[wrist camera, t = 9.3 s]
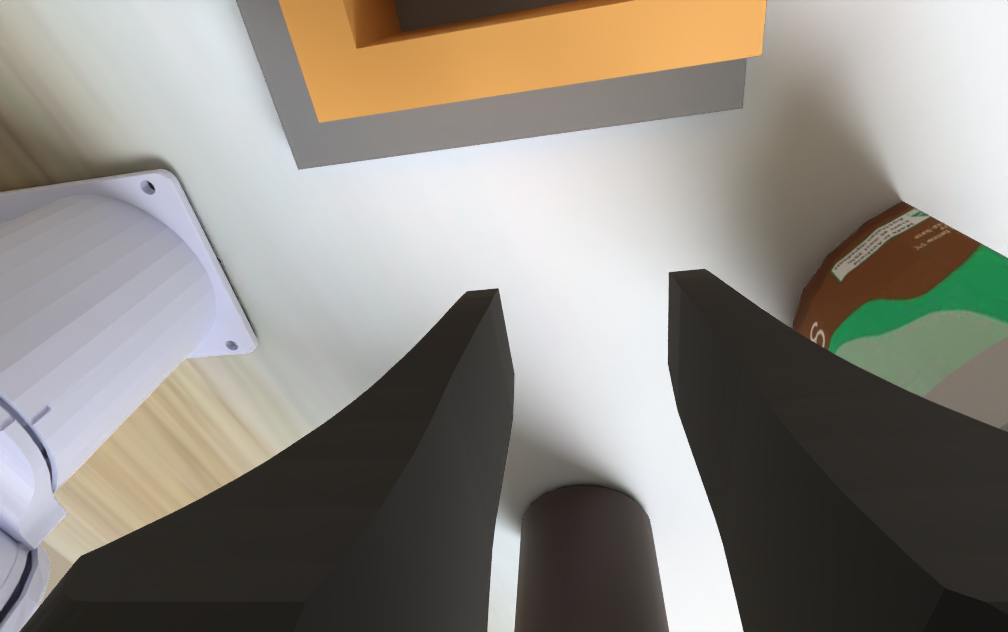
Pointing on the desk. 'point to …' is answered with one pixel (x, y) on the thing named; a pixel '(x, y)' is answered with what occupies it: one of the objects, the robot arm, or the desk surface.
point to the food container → (916, 311)
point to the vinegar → (588, 565)
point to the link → (504, 48)
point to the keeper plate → (476, 119)
